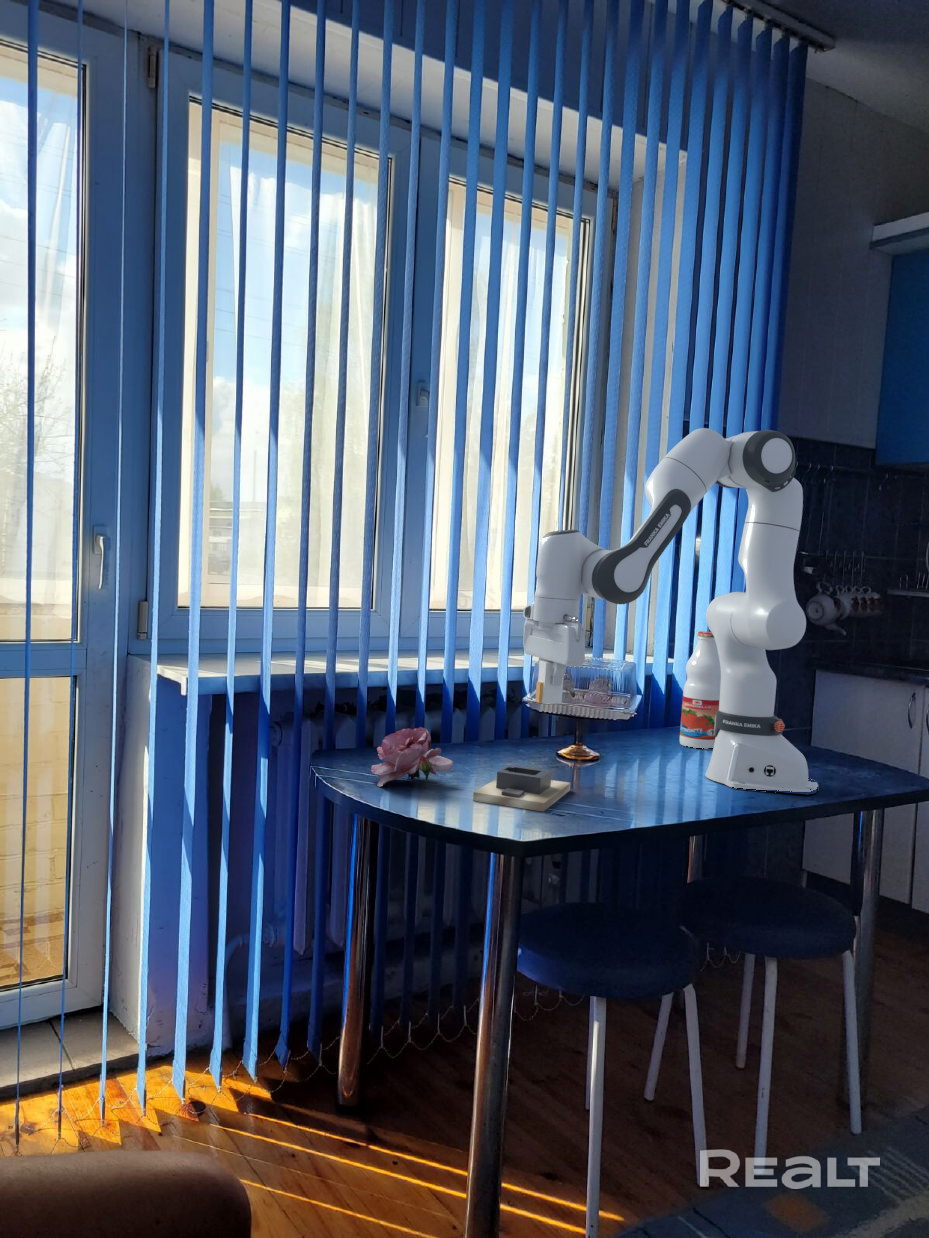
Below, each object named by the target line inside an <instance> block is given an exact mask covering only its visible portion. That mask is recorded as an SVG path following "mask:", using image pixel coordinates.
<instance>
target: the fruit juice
mask: <svg viewBox="0 0 929 1238" xmlns="http://www.w3.org/2000/svg"><path fill="white" fill-rule="evenodd" d="M696 636H697V637H696V638H697V639H698V640H697V643H696V645H695V648H694V650H693V652H692V654H691V656H690V657H689V659H688V660H687V662H686V663H685V664H686V665H685V673H686V681H685V683H684V685H683V690H682V691H683V692H682V704H681V713H680V714H681V717H680V728H679V730H680V731H679V744H680V745H681V746H684V747H686V746H688V747H687V748H690V747H693V748H692V749H696V748H702V749H701V750H709V749H708V748H714V743H715V732H714V727H715V716H716V712H717V710H718V709H719V700H720V685H721V668H720V660H719V655H718V650H717V645H716V641H715V638H714V636H713V634H712V632H711V631H703V630H702V631H699V630H698V631H697V633H696ZM703 748H704V749H703Z"/></svg>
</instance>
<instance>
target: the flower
mask: <svg viewBox="0 0 929 1238" xmlns="http://www.w3.org/2000/svg"><path fill="white" fill-rule="evenodd" d="M431 745H432V739H431V735H430V732H429V731H428V729H427V728H425V727H422V726H419V727H417V728H413V729H412V728H402V729H400V730H397V731H395V732H394V733H390V734H388V735H386V736H384V738H383V739H382V741H381V746H378V747H377V748H376V750H377V751H376V752H377V753H378V754H377V757H378V759H380V760H381V761H384V762H382V763H378V764H373V765H371V768H370V770H371V771H370V772H371V773H372V774H374V775H377V776H378V777H379V778H378V779H379V780H378V782H377V787H380V788H381V787H383V786H384V785H386V784H387V783H390V782H391V781H395V780H398V779H401V778H403V777H404V776H406V775H407V776H408V778H407V781H406V782H408V781H409V779H411V781H410V784H413V781H414V779H415V778H417V779H418V780H420V777H421V776H420V774H421V773H420V771H422V773H423V775H424V776H425V788H427V786H428V778H429V776H430V773H431V774H433V775H434V776H436V775H437V772H439V773H443V772H444V773H445V772H449V771H451V769H452V768H453V766H454V761H453V760H452V759H450V758H447V757H444V756H441V755H440V754H441V753H442V749H441V748H440V747H436V748H431Z"/></svg>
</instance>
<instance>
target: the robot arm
mask: <svg viewBox="0 0 929 1238" xmlns="http://www.w3.org/2000/svg"><path fill="white" fill-rule="evenodd" d="M795 465H796V452H795V448H794V445H793V443H792V440H791V439H790V438H789V437H788V436H787V435H786V434H784V433H782V432H780V431H776V430H771V429H762V430H755V431H747V432H741V433H739V434H737V435H736V434H735V435H733V436H729V437H728V436H727V437H724V436H722V435H721V434H720V433H719V432H717V431H716V430H713V429H711V428H707V427H700V428H697V429H694V430H692V431H691V432H690V433H689V434H687V435H686V436H685V437H683V438H682V439H681V440H680V441H679V442H678V443H676V444H675V445H674V447H672V449H671V450H670V451H669V452H668V453H667V454H666V455H665V456H664V457H663V458H662V459H661V460H660V462H658V464H656V466H655V467H654V469H653V470H652V472H651V473H650V475H649V476H648V479H647V480H646V482H645V484H644V492H645V493H644V494H645V498H646V501H647V503H648V504H649V505H650V507H651V508H650V511H649V512H648V513H649V514H648V515H647V517H645V519H644V521H642V523H641V525H640V526H639V527H638V529H637V530H636V531H635V533H634V534H633V535H632V537H631V538H630V539H629V541H628V542H627V543H625V544H624V545H623V546H620V547H619V548H616V549H613V550H612V549H611V550H610V549H605V548H604V547H602V546H599V545H598V544H595V543H594V542H593V541H591V540H590V539H588V538H587V537H586V536H584V534H583V533H582V532H581V531H580V530H577V529H565V530H561V529H560V530H554V531H549V532H547V533H546V534H545V535H543V536H542V538H541V541H540V543H539V548H538V553H537V560H536V561H537V562H536V571H535V573H536V574H535V575H536V580H537V584H536V585H537V586H536V589H535V592H534V599H533V601H532V602H531V603H530V604H528V605H526V606H525V607H524V608H523V611H522V612H523V613H522V615H523V618H524V619H525V621H524V623H523V640H522V641H523V642H522V643H523V645H522V646H523V651H524V653H525V654H526V655H527V656H531V657H536V658H538V664H539V662H540V661H552V662H554V665H553V667H554V668H555V669H554V672H553V676H551V681H550V683H551V684H552V685H554V686H560V685H561V684H562V677H563V675H564V676H565V672H566V670H567V667H582V666H583V664H584V662H585V657H586V636H585V635H586V634H585V630H584V628H583V625H582V623H581V622H580V621H581V620H580V617H579V616H580V602H581V601H580V599H581V595H583V594H584V595H585V596H588V597H590V598H595V599H598V600H603V601H607V602H610V603H611V604H614V605H615V604H616V605H626V604H630V603H633V602H635V601H636V600H637V599H638V598H640V596H641V595H642V594H643V593H644V592H645V590H646V587H647V585H648V583H649V579H650V576H651V573H652V571H653V568H654V566H655V564H656V563H657V562H658V560H659V558H660V557H661V556H662V554H664V553H663V552H665V550H666V549H667V547H668V546H669V545H670V543H671V542H672V541H673V539H674V538H675V536H676V535H677V533H678V532H679V531H680V530H681V528H682V527H683V525H684V523H685V522H686V520H687V519H688V517H689V515H690V513H691V512H692V511H693V510H694V508H695V507H696V506H697V505H698V504H699V503H700V501H701V500H703V498H704V496H706V494H707V493H708V492H709V491H710V489H711V488H712V487H713V485H715V484H716V485H718V486H719V487H723V488H726V489H736V488H737V489H745V491H746V495H747V501H748V505H747V512H746V516H745V520H744V525H743V530H742V535H741V540H740V543H739V544H740V545H739V550H738V556H737V561H738V564H739V566H740V568H741V569H742V571H743V574H744V579H745V591H733V592H728V593H724V594H720V595H718V596H716V597H715V598H714V599H712V600H711V601H710V603H709V605H708V606H707V609H706V613H705V620H706V621H705V623H706V625H707V628H708V629H709V632H712V634H713V636H714V638H715V641H716V645H717V650H718V655H719V660H720V668H721V685H720V700H719V709H718V710H717V712H716V716H715V727H714V732H715V743H714V748H713V749H712V753H711V757H710V760H709V764H708V765H707V769H706V772H705V774H704V775H705V777H706V778H707V779H709V780H711V781H714V782H717V783H719V784H724V785H725V786H727V787H729V788H732V787H734V788H733V789H737V788H743V789H742V790H746V789H756V790H777V791H778V790H779V791H790V792H791V791H792V792H811V791H813V790H816V789H817V787H818V788H819V783H818V782H817V781H816V782H811V781H808V780H809V779H808V778H809V768H808V766H809V765H808V762H807V760H806V757H805V756H804V754H803V753H802V752H801V751H800V750H799V749H798V748H797V747H795V746H794V744H792V743H791V742H790V741H789V740H788V739H786V737H784V736H783V731H784V730H785V727H786V725H785V723H784V721H783V719H782V718H779V717H778V716H776V715H775V705H776V692H777V691H776V690H777V677H776V674H775V672H774V671H773V669H772V668H771V667H770V664H769V661H768V657H767V653H766V650H767V651H774V650H782V649H783V650H784V649H790V648H792V647H794V646H796V645H797V644H798V643H799V642H800V641H801V640H802V638H803V636H804V635H805V632H806V628H807V618H806V614H805V611H804V610H803V608H802V607H801V606H800V604H799V602H798V600H797V596H796V595H797V594H796V590H795V584H794V583H795V582H794V581H795V580H794V566H795V565H794V564H795V559H796V554H797V547H798V541H799V537H800V531H801V527H802V526H801V525H802V518H803V517H802V516H803V508H804V504H803V501H804V494H803V493H804V492H803V491H804V489H803V487H802V484H801V483H800V482H799V480H797V479H796V478H795V475H796V466H795ZM810 779H811V778H810ZM811 780H813V779H811ZM810 789H811V790H810ZM756 790H755V791H756Z"/></svg>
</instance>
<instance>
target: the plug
mask: <svg viewBox="0 0 929 1238" xmlns="http://www.w3.org/2000/svg"><path fill="white" fill-rule="evenodd" d="M538 662H539V661H538ZM553 665H554V662H552V661H540V662H539V663H538V678H537V681H536V687H535V688H536V689H535V698H534V699H535V700H534V701H535V702H536V703H538V704H544V705H545V704H548V705H549V704H553V705H554V704H555V705H558V704H559V705H560V704H562V703H563V692H564V691H563V690H564V678H565V677H564V676H565V674H564V675H563V677H562V684H561V685H560V686H554V685H552V684H551V683H550V681H551V676H553V672H554V669H555V668H554V667H553Z"/></svg>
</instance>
